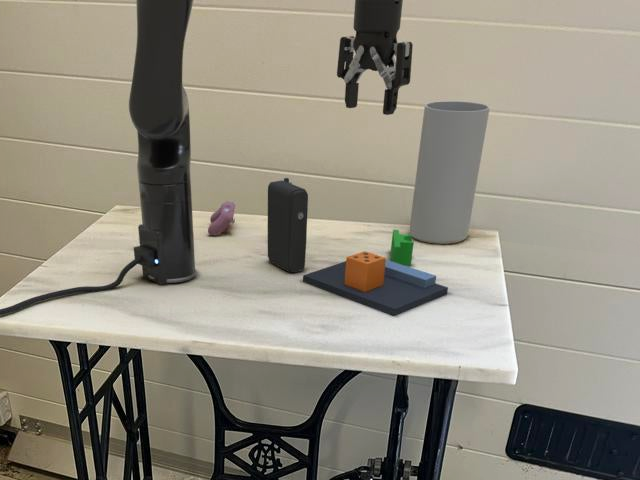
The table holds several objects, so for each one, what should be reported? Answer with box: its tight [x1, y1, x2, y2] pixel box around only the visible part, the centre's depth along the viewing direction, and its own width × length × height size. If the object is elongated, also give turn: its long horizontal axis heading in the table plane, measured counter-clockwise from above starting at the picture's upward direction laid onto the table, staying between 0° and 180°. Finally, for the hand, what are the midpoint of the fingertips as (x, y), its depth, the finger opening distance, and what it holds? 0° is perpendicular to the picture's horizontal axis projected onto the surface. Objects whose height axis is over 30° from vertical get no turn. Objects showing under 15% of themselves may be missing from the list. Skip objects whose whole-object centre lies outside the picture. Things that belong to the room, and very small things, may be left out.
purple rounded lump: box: [207, 200, 236, 236], centre depth 161 cm, size 10×5×7 cm, turn 179°
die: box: [344, 250, 387, 292], centre depth 130 cm, size 5×5×5 cm
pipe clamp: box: [390, 229, 414, 267], centre depth 145 cm, size 11×4×5 cm, turn 173°
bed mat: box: [302, 259, 449, 316], centre depth 133 cm, size 15×22×3 cm
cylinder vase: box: [408, 100, 491, 245], centre depth 151 cm, size 12×12×25 cm
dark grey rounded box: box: [267, 180, 309, 273], centre depth 139 cm, size 9×4×15 cm, turn 31°
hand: (369, 110), depth 126 cm, fingers open, 8 cm apart
